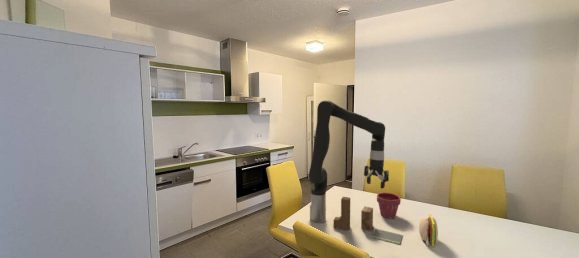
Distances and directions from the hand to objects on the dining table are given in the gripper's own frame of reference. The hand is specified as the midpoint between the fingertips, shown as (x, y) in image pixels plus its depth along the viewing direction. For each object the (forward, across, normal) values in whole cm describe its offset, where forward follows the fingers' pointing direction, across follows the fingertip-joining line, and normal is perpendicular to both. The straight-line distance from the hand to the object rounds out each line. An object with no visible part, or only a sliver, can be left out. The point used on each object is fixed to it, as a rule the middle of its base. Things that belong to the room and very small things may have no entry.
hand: (375, 186), depth 136 cm
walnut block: (+26, -4, 0) cm, 26 cm away
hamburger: (+25, +24, +13) cm, 37 cm away
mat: (+26, +9, -1) cm, 27 cm away
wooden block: (+27, -13, -12) cm, 32 cm away
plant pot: (+26, -5, +24) cm, 36 cm away
